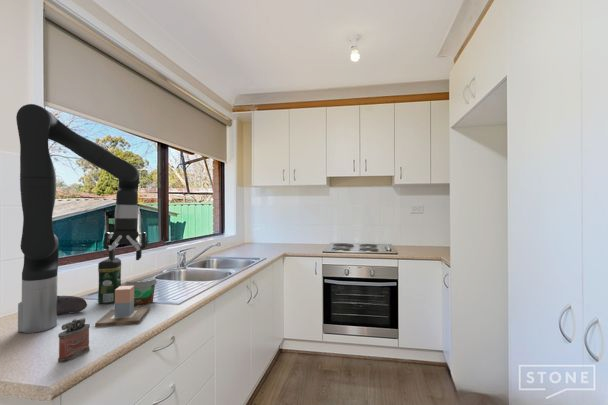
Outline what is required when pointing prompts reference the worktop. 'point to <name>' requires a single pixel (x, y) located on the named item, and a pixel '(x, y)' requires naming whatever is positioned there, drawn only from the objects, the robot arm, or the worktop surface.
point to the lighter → (73, 340)
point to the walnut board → (123, 318)
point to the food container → (143, 291)
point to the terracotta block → (124, 294)
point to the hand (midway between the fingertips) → (125, 260)
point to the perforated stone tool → (70, 304)
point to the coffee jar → (108, 280)
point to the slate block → (124, 309)
